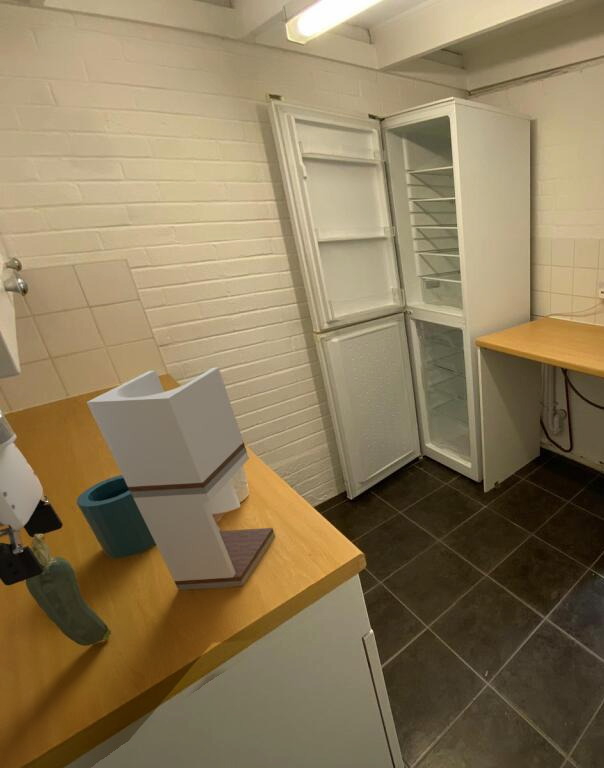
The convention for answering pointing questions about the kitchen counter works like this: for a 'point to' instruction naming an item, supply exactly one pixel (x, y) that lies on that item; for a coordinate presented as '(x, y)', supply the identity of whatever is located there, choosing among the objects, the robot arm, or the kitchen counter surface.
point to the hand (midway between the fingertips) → (37, 553)
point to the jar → (115, 518)
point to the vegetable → (64, 597)
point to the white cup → (240, 484)
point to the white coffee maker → (183, 474)
